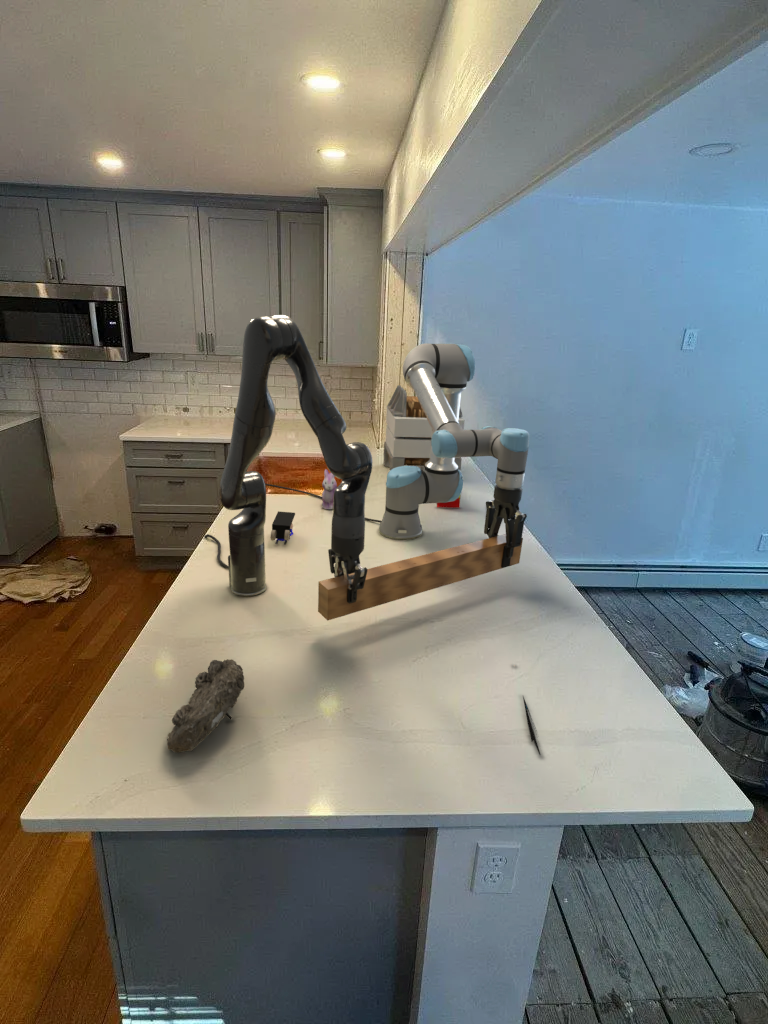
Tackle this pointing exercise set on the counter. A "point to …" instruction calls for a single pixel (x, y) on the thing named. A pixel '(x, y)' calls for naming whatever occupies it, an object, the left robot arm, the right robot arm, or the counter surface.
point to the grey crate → (408, 432)
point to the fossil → (206, 705)
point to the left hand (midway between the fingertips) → (346, 597)
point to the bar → (414, 576)
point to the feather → (530, 725)
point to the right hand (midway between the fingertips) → (498, 562)
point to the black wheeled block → (282, 527)
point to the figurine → (328, 490)
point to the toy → (450, 504)
